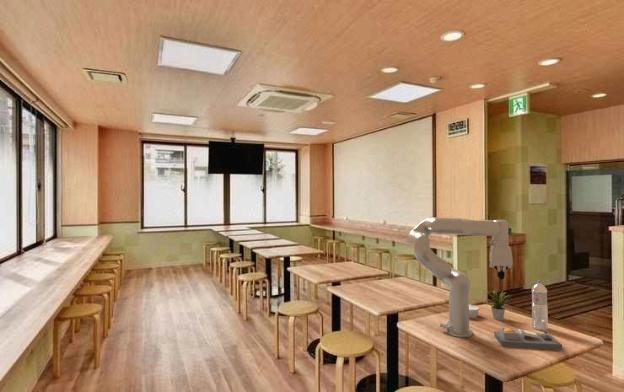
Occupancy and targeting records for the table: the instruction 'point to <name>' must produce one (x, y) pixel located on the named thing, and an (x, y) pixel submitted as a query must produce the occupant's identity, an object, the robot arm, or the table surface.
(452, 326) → the robot arm
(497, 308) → the house plant
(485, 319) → the table surface
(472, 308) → the ramekin
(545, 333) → the toggle lever
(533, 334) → the rocker switch
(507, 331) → the push button
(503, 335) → the control panel
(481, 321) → the table surface
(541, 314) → the water bottle
